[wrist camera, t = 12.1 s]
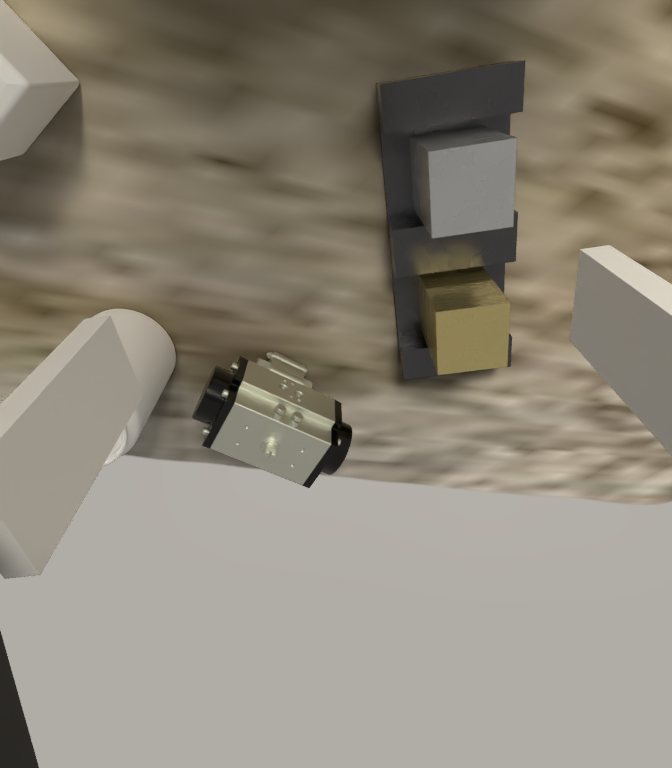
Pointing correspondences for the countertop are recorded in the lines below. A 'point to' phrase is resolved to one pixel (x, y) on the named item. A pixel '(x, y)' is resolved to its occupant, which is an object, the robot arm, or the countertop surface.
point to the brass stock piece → (464, 320)
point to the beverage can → (142, 368)
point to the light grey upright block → (463, 180)
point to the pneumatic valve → (273, 419)
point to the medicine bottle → (27, 84)
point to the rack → (406, 231)
